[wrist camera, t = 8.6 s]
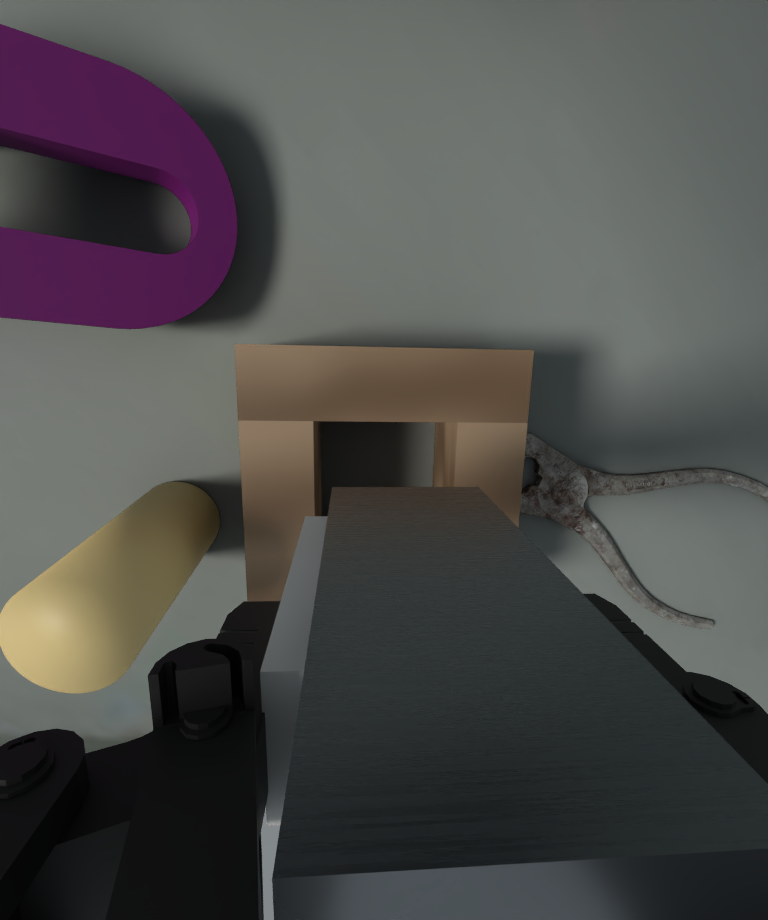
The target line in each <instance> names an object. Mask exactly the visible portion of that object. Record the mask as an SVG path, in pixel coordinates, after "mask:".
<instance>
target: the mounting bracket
mask: <svg viewBox="0 0 768 920" xmlns="http://www.w3.org/2000/svg"><path fill="white" fill-rule="evenodd" d="M0 146H4V147H9V148H13V149H17V150H21V151H25V152H29V153H33V154H38V155H42V156H46V157H50V158H54V159H58V160H62V161H66V162H71V163H75V164H79V165H83V166H87V167H91V168H95V169H100V170H104V171H108V172H112V173H116V174H120V175H124V176H129V177H133V178H137V179H141V180H145V181H149V182H153V183H156V184H159V185H161V186H163V187H165V188H167V189H168V190H170V191H171V192H172V193H173V194H174V195H175V196H176V197H177V198H178V199H179V200H180V201H181V202H182V204H183V205H184V207H185V209H186V211H187V213H188V215H189V218H190V222H191V237H190V241H189V244H188V246H187V247H186V248H185V249H183V250H181V251H179V252H176V253H173V254H156V253H150V252H144V251H138V250H133V249H127V248H121V247H115V246H109V245H104V244H98V243H92V242H86V241H80V240H75V239H69V238H63V237H57V236H51V235H46V234H40V233H34V232H28V231H22V230H17V229H11V228H5V227H0V317H1V318H11V319H22V320H32V321H43V322H53V323H64V324H75V325H85V326H96V327H106V328H117V329H141V328H148V327H155V326H160V325H163V324H167V323H170V322H173V321H175V320H178V319H181V318H183V317H185V316H186V315H188V314H190V313H192V312H193V311H195V310H196V309H198V308H199V307H200V306H202V305H203V304H204V303H205V302H206V301H207V300H208V299H209V298H210V297H211V296H212V295H213V294H214V293H215V292H216V290H217V289H218V288H219V286H220V285H221V283H222V282H223V280H224V278H225V276H226V274H227V272H228V270H229V268H230V265H231V262H232V260H233V256H234V252H235V247H236V240H237V213H236V206H235V200H234V195H233V192H232V188H231V184H230V181H229V179H228V176H227V173H226V171H225V168H224V166H223V164H222V162H221V160H220V158H219V156H218V154H217V153H216V151H215V149H214V147H213V146H212V144H211V142H210V141H209V139H208V138H207V137H206V135H205V134H204V132H203V131H202V130H201V128H200V127H199V126H198V125H197V124H196V122H195V121H194V120H193V119H192V117H191V116H190V115H189V114H188V113H187V112H186V111H185V110H184V109H183V108H182V107H181V106H180V105H179V104H178V103H176V102H175V101H174V100H173V99H172V98H171V97H170V96H168V95H167V94H166V93H165V92H163V91H162V90H161V89H159V88H158V87H157V86H155V85H154V84H152V83H151V82H149V81H147V80H146V79H144V78H143V77H141V76H139V75H137V74H135V73H133V72H131V71H130V70H128V69H126V68H124V67H121V66H119V65H116V64H114V63H111V62H109V61H106V60H103V59H100V58H97V57H94V56H91V55H88V54H85V53H83V52H80V51H77V50H74V49H71V48H68V47H65V46H62V45H59V44H57V43H54V42H51V41H48V40H45V39H42V38H39V37H36V36H33V35H30V34H28V33H25V32H22V31H19V30H16V29H13V28H10V27H7V26H4V25H2V24H0Z"/></svg>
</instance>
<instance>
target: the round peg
mask: <svg viewBox="0 0 768 920" xmlns="http://www.w3.org/2000/svg"><path fill="white" fill-rule="evenodd" d="M219 527H220V516H219V512H218V509H217V506H216V505H215V503H214V501H213V500H212V498H211V497H210V496H209V495H208V494H207V493H206V492H204V491H203V490H202V489H200V488H198V487H196V486H194V485H192V484H189V483H185V482H167V483H163V484H160V485H158V486H156V487H154V488H153V489H151V490H150V491H149V492H147V493H146V494H145V495H144V496H142V497H141V498H140V499H138V500H137V501H136V502H134V503H133V504H132V505H131V506H129V507H128V508H127V509H125V510H124V511H123V512H121V513H120V514H119V515H118V516H116V517H115V518H114V519H112V520H111V521H110V522H108V523H107V524H106V525H105V526H103V527H102V528H101V529H99V530H98V531H97V532H95V533H94V534H93V535H92V536H90V537H89V538H88V539H86V540H85V541H84V542H82V543H81V544H80V545H79V546H77V547H76V548H75V549H73V550H72V551H71V552H69V553H68V554H67V555H66V556H64V557H63V558H62V559H60V560H59V561H58V562H56V563H55V564H54V565H53V566H51V567H50V568H49V569H47V570H46V571H45V572H43V573H42V574H41V575H40V576H38V577H37V578H36V579H34V580H33V581H32V582H30V583H29V584H28V585H27V586H25V587H24V588H23V589H21V590H20V591H19V592H17V593H16V594H15V595H14V596H13V597H12V598H11V599H10V600H9V601H8V602H7V603H6V605H5V606H4V608H3V610H2V612H1V614H0V646H1V648H2V651H3V653H4V655H5V657H6V658H7V660H8V661H9V662H10V664H11V665H12V666H13V667H14V668H15V669H16V670H17V671H18V672H19V673H20V674H21V675H23V676H24V677H25V678H27V679H28V680H30V681H31V682H33V683H35V684H37V685H39V686H42V687H44V688H47V689H50V690H54V691H58V692H64V693H86V692H92V691H96V690H99V689H102V688H105V687H107V686H109V685H111V684H113V683H114V682H115V681H117V680H118V679H120V678H121V677H122V676H123V675H124V674H125V673H126V671H127V670H128V669H129V667H130V666H131V664H132V663H133V661H134V660H135V658H136V657H137V655H138V654H139V652H140V651H141V649H142V648H143V646H144V645H145V643H146V642H147V640H148V639H149V637H150V636H151V634H152V633H153V631H154V630H155V628H156V627H157V625H158V624H159V622H160V621H161V619H162V618H163V616H164V615H165V613H166V612H167V610H168V609H169V607H170V606H171V604H172V603H173V601H174V600H175V598H176V597H177V595H178V594H179V592H180V591H181V589H182V588H183V586H184V585H185V583H186V582H187V580H188V579H189V577H190V576H191V574H192V573H193V571H194V570H195V568H196V567H197V565H198V564H199V562H200V561H201V559H202V558H203V556H204V555H205V553H206V552H207V550H208V549H209V547H210V546H211V544H212V543H213V541H214V540H215V538H216V536H217V534H218V531H219Z"/></svg>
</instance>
